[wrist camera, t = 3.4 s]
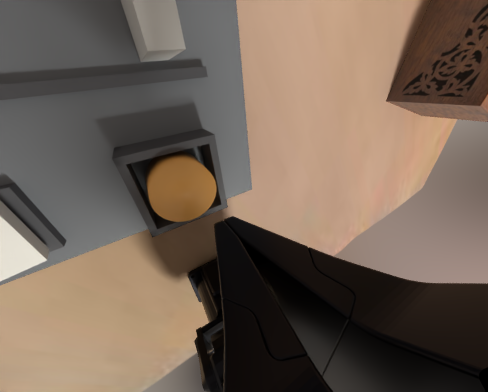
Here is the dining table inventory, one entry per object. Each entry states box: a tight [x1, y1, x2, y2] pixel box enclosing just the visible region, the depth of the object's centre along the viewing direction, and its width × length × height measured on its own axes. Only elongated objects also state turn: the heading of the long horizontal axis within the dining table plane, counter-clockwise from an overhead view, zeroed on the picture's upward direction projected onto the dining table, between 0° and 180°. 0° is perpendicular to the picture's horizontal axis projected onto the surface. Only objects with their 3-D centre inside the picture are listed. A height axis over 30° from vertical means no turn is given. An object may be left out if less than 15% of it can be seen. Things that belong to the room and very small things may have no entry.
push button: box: [145, 151, 216, 222], centre depth 14 cm, size 4×4×3 cm
